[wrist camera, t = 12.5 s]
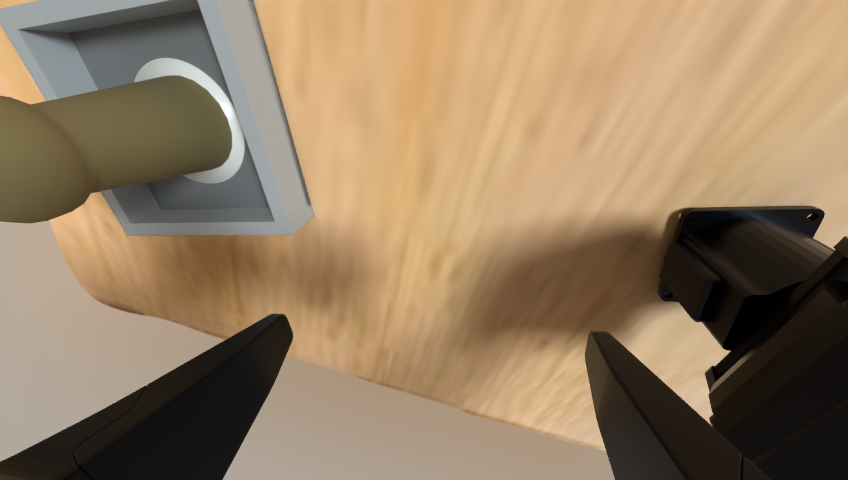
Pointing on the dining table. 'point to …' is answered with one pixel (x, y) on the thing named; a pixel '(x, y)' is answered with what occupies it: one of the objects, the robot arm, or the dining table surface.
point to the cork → (105, 143)
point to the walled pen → (191, 58)
